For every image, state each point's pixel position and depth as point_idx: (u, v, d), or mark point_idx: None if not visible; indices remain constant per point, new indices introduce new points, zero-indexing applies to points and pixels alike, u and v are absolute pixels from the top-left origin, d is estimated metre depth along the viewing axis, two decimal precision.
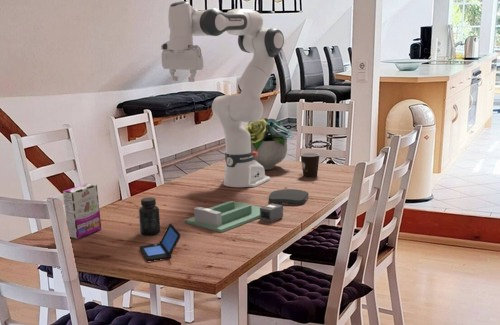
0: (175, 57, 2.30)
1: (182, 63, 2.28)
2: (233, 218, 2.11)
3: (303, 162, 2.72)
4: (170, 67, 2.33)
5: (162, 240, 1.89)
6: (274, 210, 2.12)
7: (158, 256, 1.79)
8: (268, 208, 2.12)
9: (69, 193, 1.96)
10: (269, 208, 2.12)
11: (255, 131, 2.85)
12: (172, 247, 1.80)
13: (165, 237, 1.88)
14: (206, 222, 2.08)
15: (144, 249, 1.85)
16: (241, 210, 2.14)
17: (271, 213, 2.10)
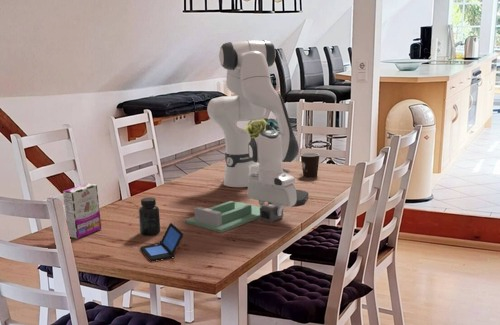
0: None
1: None
2: (233, 218, 2.11)
3: (303, 162, 2.72)
4: None
5: (163, 240, 1.89)
6: (274, 210, 2.11)
7: (161, 256, 1.80)
8: (268, 208, 2.12)
9: (69, 193, 1.96)
10: (269, 208, 2.12)
11: (255, 131, 2.85)
12: (175, 246, 1.81)
13: (166, 237, 1.88)
14: (206, 222, 2.08)
15: (146, 249, 1.85)
16: (241, 210, 2.14)
17: (271, 213, 2.10)
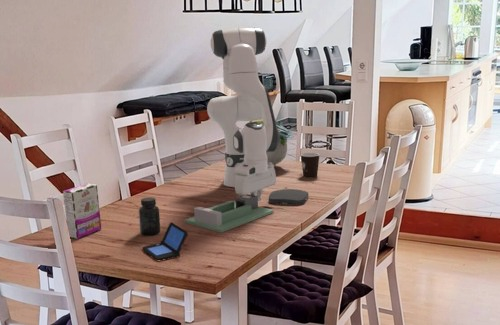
0: (255, 179, 2.23)
1: (263, 182, 2.26)
2: (233, 218, 2.11)
3: (303, 162, 2.72)
4: (251, 191, 2.22)
5: (164, 239, 1.90)
6: (249, 200, 2.21)
7: (167, 255, 1.80)
8: (243, 198, 2.21)
9: (69, 193, 1.96)
10: (244, 198, 2.21)
11: None
12: (180, 245, 1.82)
13: (168, 236, 1.89)
14: (206, 222, 2.08)
15: (149, 249, 1.85)
16: (241, 210, 2.14)
17: (246, 203, 2.19)
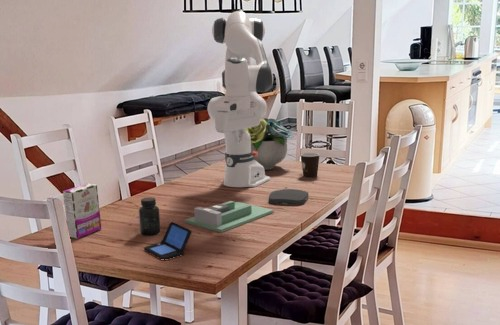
0: (237, 117, 2.11)
1: (245, 122, 2.15)
2: (233, 218, 2.11)
3: (303, 162, 2.72)
4: (232, 129, 2.10)
5: (165, 239, 1.90)
6: (219, 210, 2.09)
7: (171, 254, 1.81)
8: (213, 208, 2.10)
9: (69, 193, 1.96)
10: (214, 208, 2.09)
11: (255, 131, 2.85)
12: (184, 244, 1.83)
13: (169, 236, 1.89)
14: (206, 222, 2.08)
15: (151, 249, 1.85)
16: (241, 210, 2.14)
17: None
